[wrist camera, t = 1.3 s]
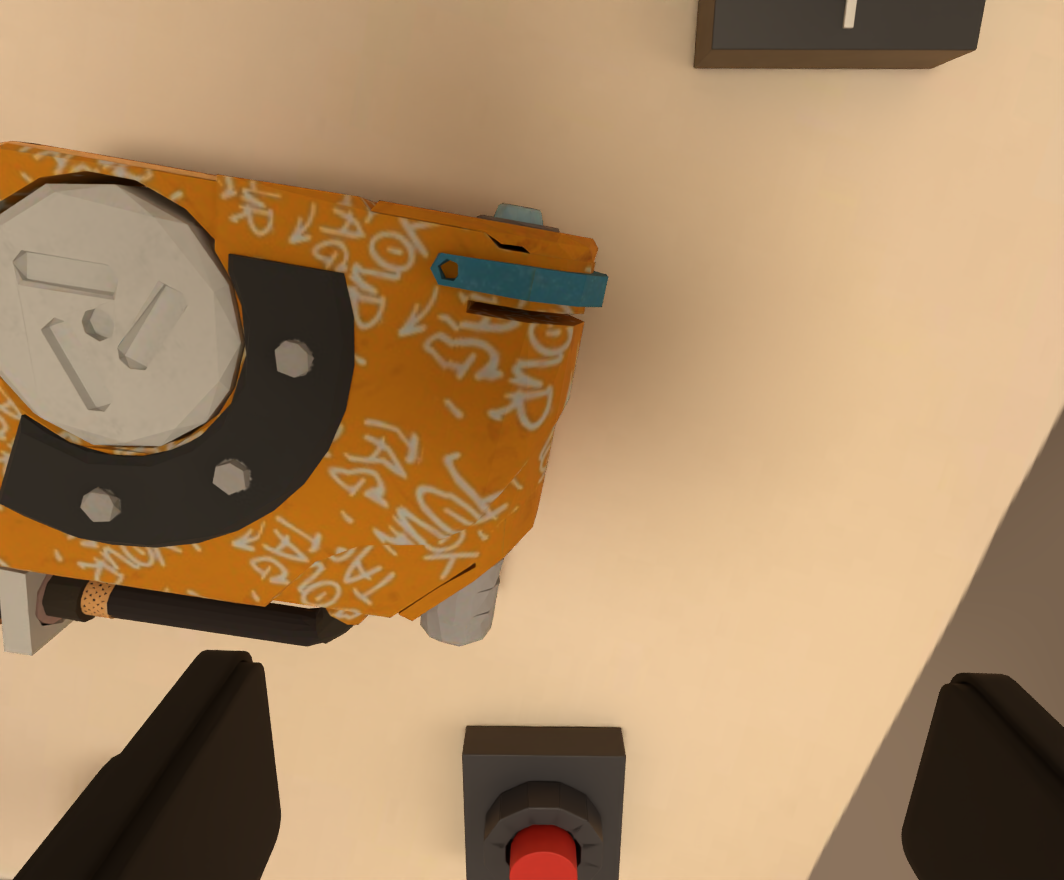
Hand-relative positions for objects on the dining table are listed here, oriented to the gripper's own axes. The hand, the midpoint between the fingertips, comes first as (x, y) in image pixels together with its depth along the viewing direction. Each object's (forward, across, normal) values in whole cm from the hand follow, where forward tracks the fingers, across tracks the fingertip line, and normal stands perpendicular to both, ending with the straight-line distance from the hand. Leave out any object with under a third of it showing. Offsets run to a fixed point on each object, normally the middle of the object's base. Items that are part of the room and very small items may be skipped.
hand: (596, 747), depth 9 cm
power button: (+20, 0, +26) cm, 33 cm away
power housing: (+24, 0, +26) cm, 35 cm away
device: (+24, +14, +2) cm, 28 cm away
